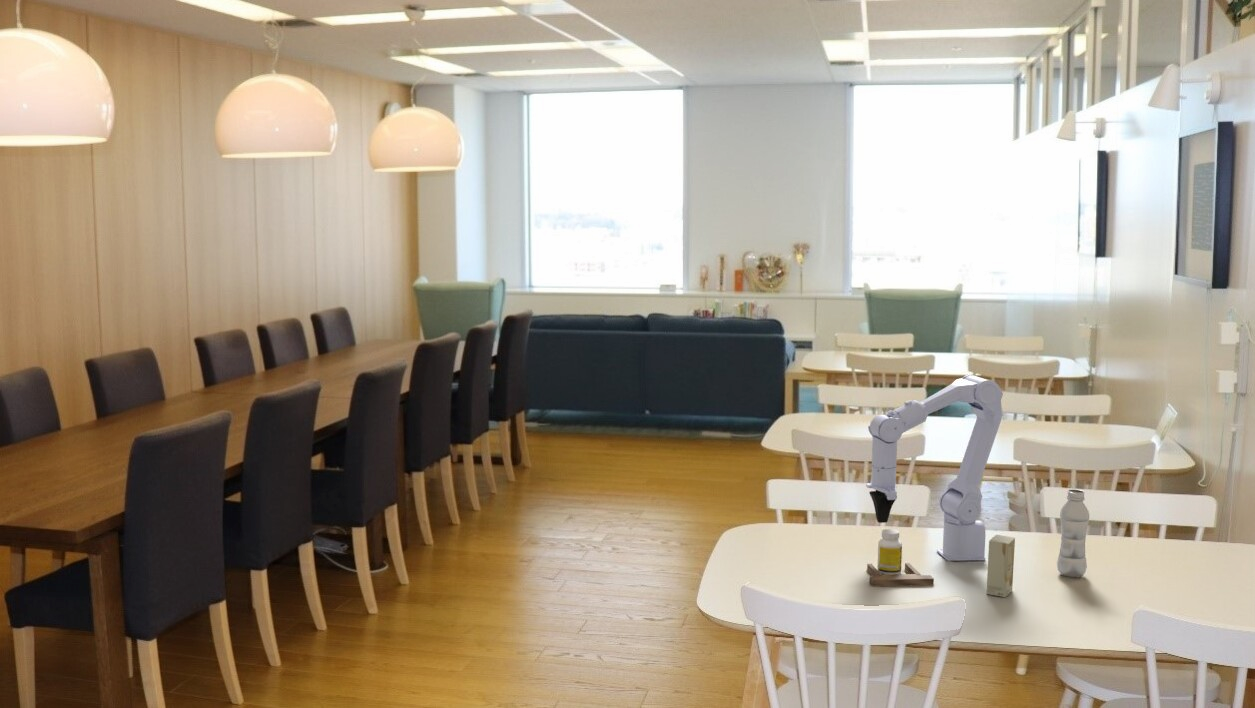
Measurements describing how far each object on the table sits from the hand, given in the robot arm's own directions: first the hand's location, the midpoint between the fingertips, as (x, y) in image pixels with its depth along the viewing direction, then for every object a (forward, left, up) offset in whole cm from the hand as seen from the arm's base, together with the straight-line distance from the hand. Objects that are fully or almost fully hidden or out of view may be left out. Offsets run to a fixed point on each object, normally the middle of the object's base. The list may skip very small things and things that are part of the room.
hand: (882, 521), depth 278 cm
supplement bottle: (0, +8, -10) cm, 13 cm away
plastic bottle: (-41, +13, -10) cm, 44 cm away
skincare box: (-20, +23, -10) cm, 32 cm away
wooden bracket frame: (0, +12, -10) cm, 15 cm away
